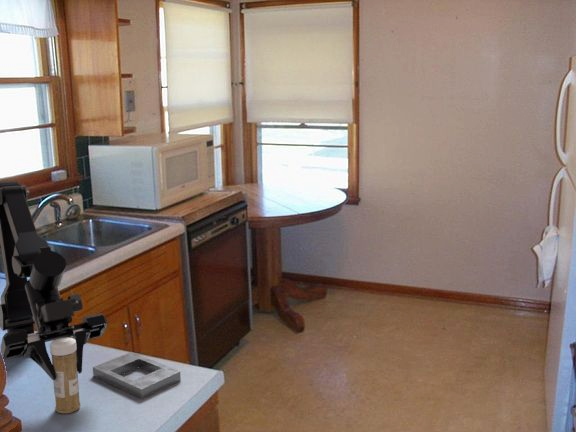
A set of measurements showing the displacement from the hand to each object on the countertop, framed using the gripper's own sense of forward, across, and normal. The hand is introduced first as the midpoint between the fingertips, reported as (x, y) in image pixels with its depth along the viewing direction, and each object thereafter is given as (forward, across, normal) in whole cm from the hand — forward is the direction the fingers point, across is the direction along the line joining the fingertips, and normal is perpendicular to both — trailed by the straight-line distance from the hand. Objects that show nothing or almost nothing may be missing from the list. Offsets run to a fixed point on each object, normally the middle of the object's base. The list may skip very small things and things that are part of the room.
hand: (67, 376), depth 112 cm
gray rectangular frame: (+1, +16, +9) cm, 18 cm away
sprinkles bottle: (+4, 0, +6) cm, 7 cm away
